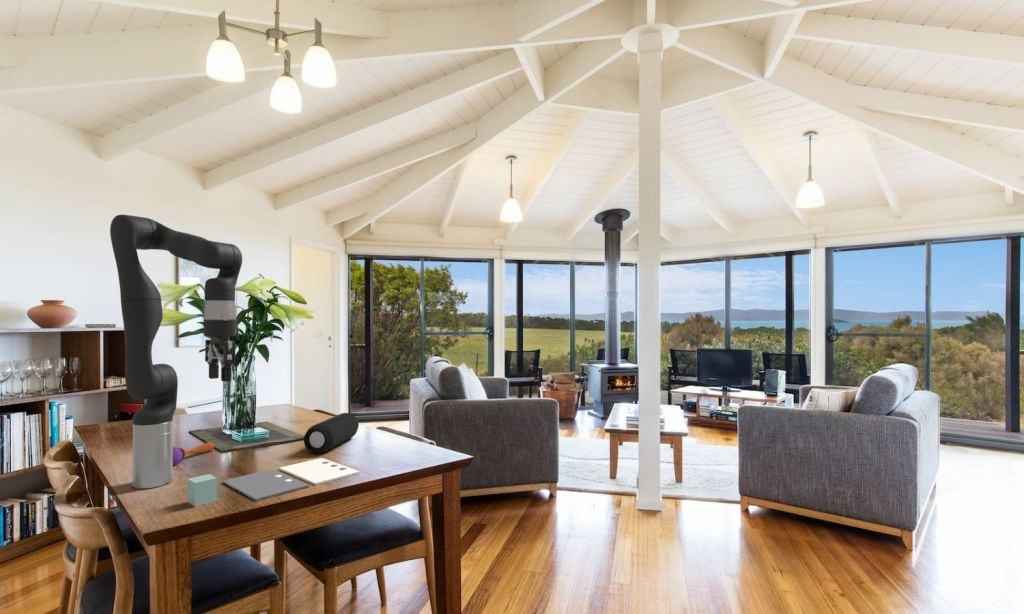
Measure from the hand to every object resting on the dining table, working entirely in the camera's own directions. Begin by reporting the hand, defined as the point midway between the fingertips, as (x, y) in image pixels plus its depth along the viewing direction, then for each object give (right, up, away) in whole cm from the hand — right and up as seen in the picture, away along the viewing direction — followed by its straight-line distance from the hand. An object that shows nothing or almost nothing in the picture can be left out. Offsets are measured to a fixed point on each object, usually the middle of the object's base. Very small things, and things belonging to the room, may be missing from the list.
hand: (219, 379), depth 135 cm
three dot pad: (+19, -30, +20) cm, 41 cm away
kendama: (-29, -31, +33) cm, 54 cm away
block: (-2, -30, -5) cm, 31 cm away
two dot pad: (+8, -30, +8) cm, 32 cm away
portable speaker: (+12, -31, +50) cm, 61 cm away
